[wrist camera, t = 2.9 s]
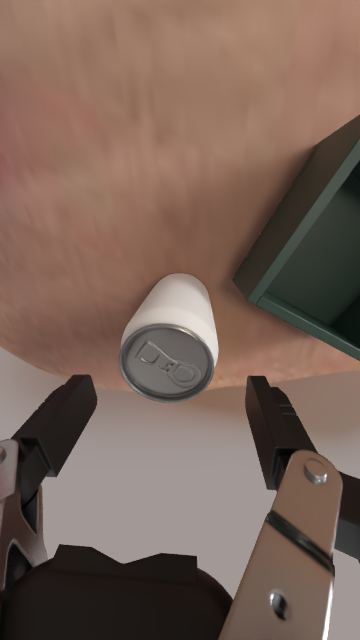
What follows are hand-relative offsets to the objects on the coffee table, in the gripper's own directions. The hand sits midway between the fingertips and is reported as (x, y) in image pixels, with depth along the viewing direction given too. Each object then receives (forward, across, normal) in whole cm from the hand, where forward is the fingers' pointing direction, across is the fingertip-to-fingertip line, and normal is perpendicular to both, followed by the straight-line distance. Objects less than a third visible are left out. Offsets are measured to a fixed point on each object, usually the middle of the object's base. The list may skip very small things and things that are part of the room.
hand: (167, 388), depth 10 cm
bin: (+14, -14, -5) cm, 20 cm away
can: (+14, 0, 0) cm, 14 cm away
